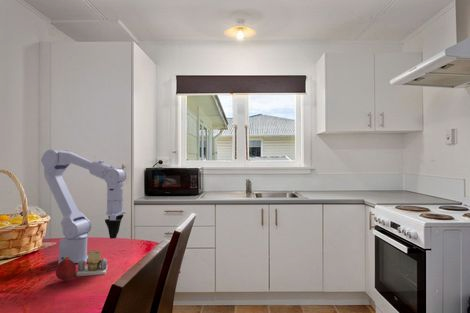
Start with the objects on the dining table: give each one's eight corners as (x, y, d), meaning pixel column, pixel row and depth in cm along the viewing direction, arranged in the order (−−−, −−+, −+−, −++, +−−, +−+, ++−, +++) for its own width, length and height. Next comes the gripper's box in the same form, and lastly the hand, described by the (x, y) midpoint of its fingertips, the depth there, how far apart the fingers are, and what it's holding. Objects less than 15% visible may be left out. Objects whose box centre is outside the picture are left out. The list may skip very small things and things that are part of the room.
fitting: (76, 276, 107) (76, 263, 107) (80, 269, 114) (81, 256, 114) (104, 274, 109) (105, 261, 109) (107, 267, 116) (107, 255, 116)
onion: (61, 286, 98) (62, 260, 98) (51, 282, 101) (52, 257, 101) (79, 280, 103) (79, 256, 103) (69, 276, 106) (69, 252, 106)
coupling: (86, 272, 108) (86, 254, 108) (87, 267, 113) (87, 250, 113) (100, 270, 110) (101, 253, 110) (101, 266, 114) (101, 249, 114)
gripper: (124, 202, 115) (123, 240, 115) (127, 197, 129) (126, 231, 129) (103, 202, 113) (103, 241, 113) (108, 197, 127) (108, 231, 127)
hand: (114, 235), depth 121 cm, fingers open, 7 cm apart
